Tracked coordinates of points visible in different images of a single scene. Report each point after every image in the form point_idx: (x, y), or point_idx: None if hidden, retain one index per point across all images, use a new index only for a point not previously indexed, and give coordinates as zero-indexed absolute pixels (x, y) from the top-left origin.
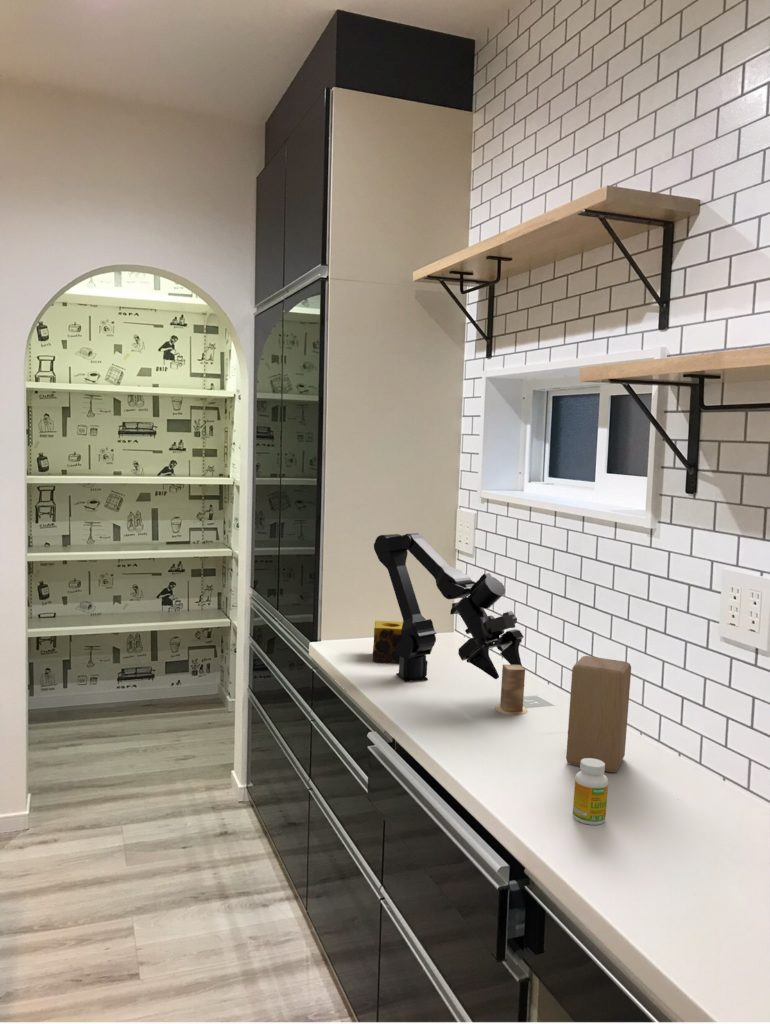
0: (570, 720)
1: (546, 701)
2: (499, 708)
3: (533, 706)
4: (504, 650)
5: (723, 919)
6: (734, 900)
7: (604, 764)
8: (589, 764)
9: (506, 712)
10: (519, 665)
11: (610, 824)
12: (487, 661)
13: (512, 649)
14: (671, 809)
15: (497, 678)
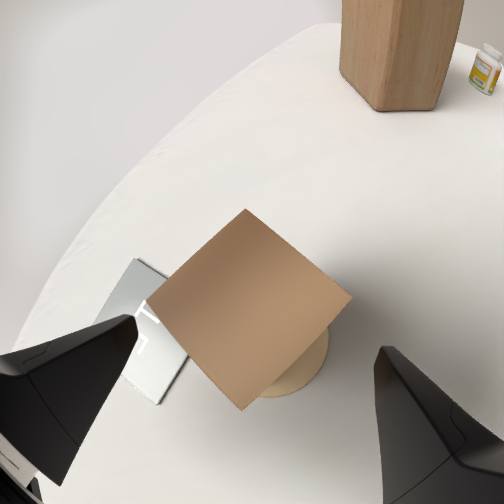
0: (451, 55)
1: (113, 292)
2: (297, 371)
3: None
4: (37, 463)
5: (466, 49)
6: None
7: (485, 43)
8: (497, 51)
9: None
10: (165, 293)
11: (468, 76)
12: (471, 422)
13: (20, 397)
14: None
15: (378, 357)
